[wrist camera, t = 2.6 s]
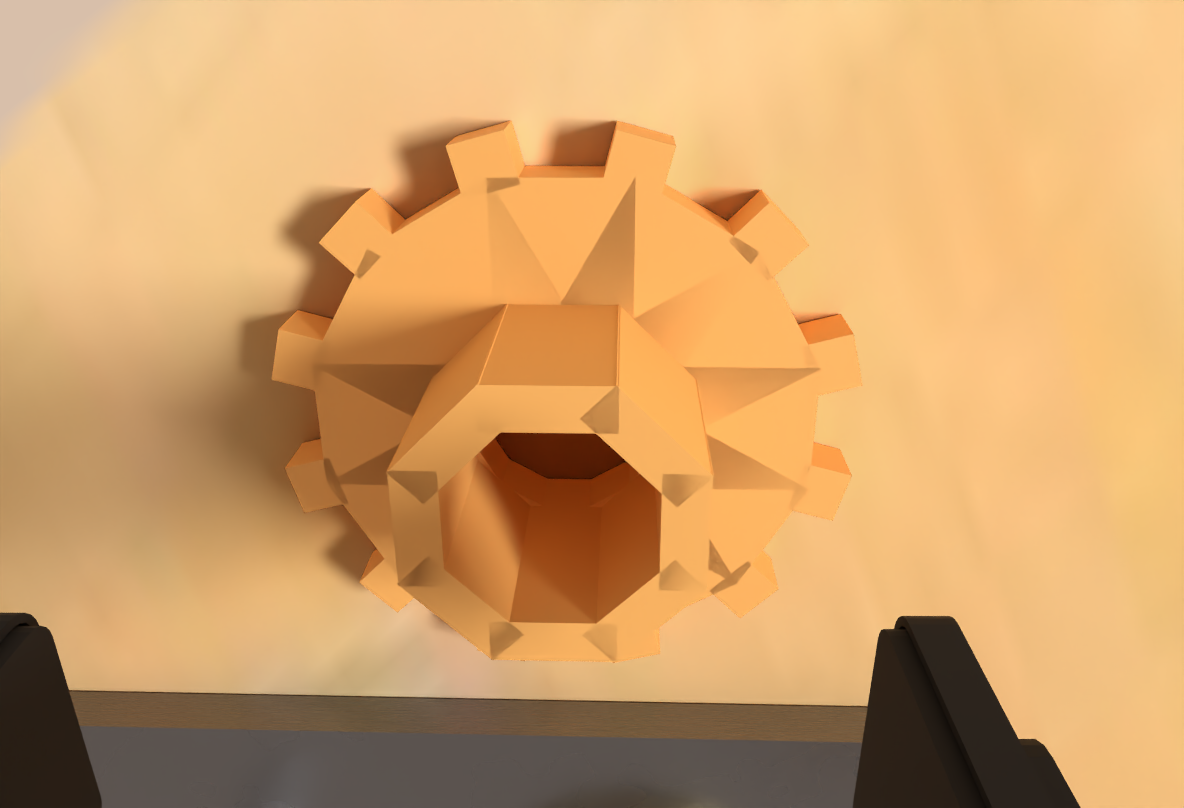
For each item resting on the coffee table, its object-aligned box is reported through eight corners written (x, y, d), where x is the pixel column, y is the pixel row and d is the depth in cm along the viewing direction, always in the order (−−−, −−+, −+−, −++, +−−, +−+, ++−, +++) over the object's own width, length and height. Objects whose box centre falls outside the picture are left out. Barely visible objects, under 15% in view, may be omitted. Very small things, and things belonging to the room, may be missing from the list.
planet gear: (877, 120, 18) (966, 172, 13) (819, 633, 23) (870, 806, 18) (257, 120, 18) (129, 169, 14) (327, 625, 23) (249, 792, 18)
